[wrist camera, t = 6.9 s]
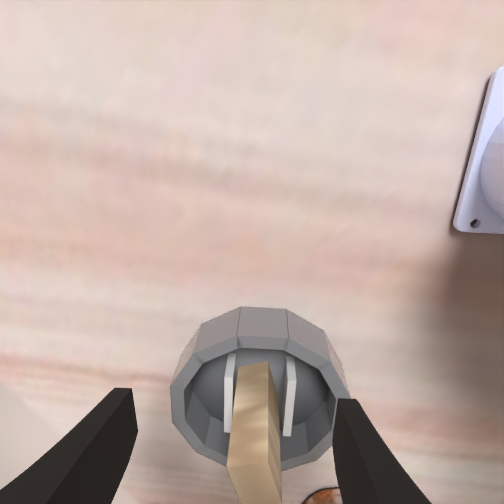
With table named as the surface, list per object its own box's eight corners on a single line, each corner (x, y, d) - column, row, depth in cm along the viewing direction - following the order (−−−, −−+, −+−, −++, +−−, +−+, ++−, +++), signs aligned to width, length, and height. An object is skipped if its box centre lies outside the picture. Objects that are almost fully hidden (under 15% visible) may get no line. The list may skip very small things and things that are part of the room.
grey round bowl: (349, 312, 22) (360, 342, 19) (329, 437, 26) (336, 476, 23) (178, 303, 22) (166, 331, 19) (185, 428, 26) (175, 466, 23)
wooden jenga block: (268, 361, 23) (267, 461, 16) (278, 396, 24) (281, 504, 17) (238, 366, 23) (226, 467, 17) (249, 401, 24) (242, 508, 18)
